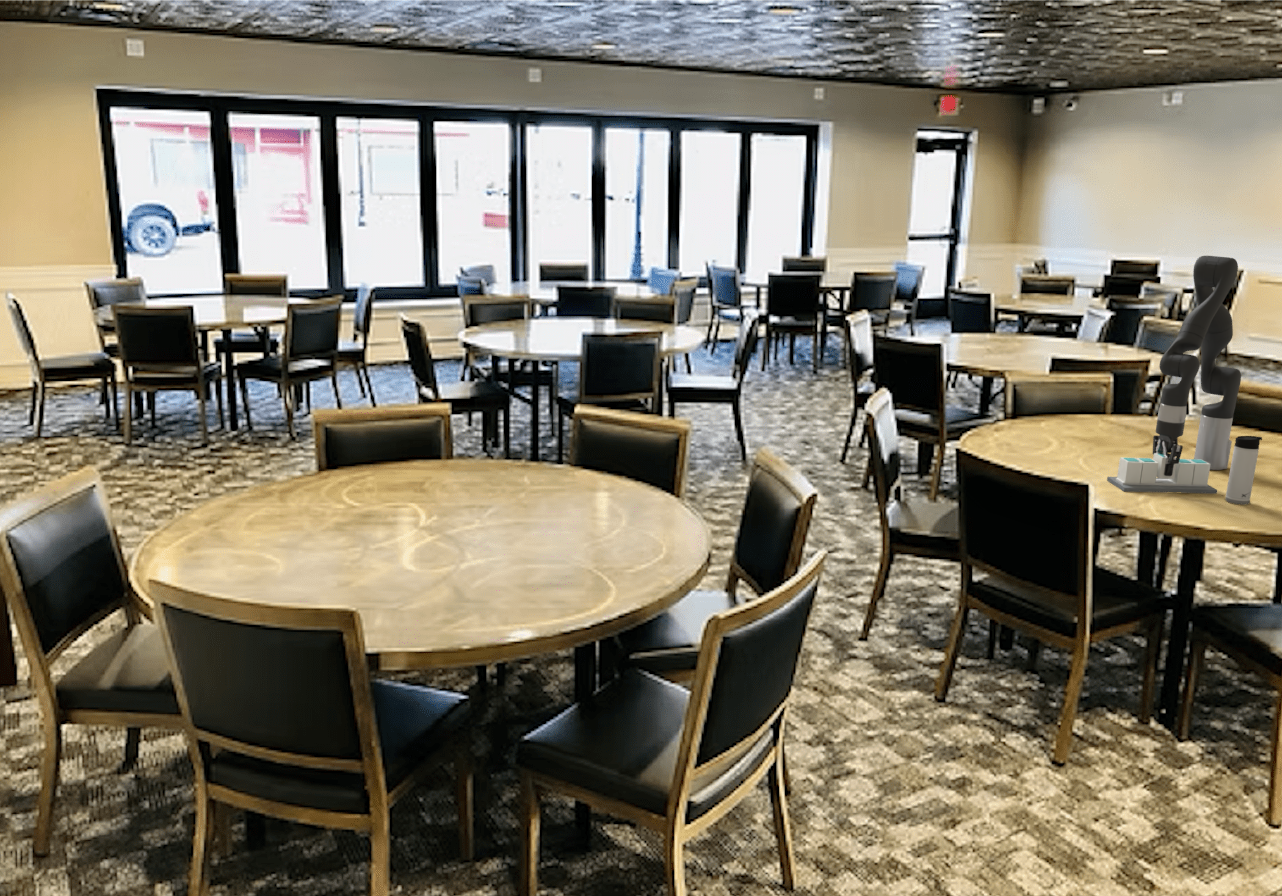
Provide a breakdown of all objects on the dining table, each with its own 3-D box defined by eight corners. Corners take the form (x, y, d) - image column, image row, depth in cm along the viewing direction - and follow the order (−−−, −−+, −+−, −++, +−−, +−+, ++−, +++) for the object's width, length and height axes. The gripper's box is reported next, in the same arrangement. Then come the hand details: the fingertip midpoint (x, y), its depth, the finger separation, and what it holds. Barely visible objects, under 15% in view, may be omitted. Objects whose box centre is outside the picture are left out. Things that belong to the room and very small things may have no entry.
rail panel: (1196, 482, 329) (1200, 456, 327) (1216, 493, 317) (1221, 466, 315) (1106, 480, 329) (1110, 453, 327) (1123, 491, 317) (1127, 464, 315)
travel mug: (1248, 506, 305) (1260, 439, 300) (1223, 502, 309) (1234, 435, 304) (1252, 501, 310) (1263, 435, 305) (1227, 497, 314) (1238, 432, 309)
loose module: (1165, 473, 325) (1168, 452, 323) (1174, 478, 320) (1177, 457, 318) (1150, 473, 325) (1154, 452, 323) (1159, 478, 320) (1162, 457, 318)
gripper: (1195, 424, 311) (1186, 479, 315) (1172, 414, 325) (1164, 467, 329) (1170, 424, 311) (1161, 479, 315) (1147, 413, 325) (1140, 466, 329)
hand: (1163, 472), depth 322 cm, fingers closed on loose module, 5 cm apart
